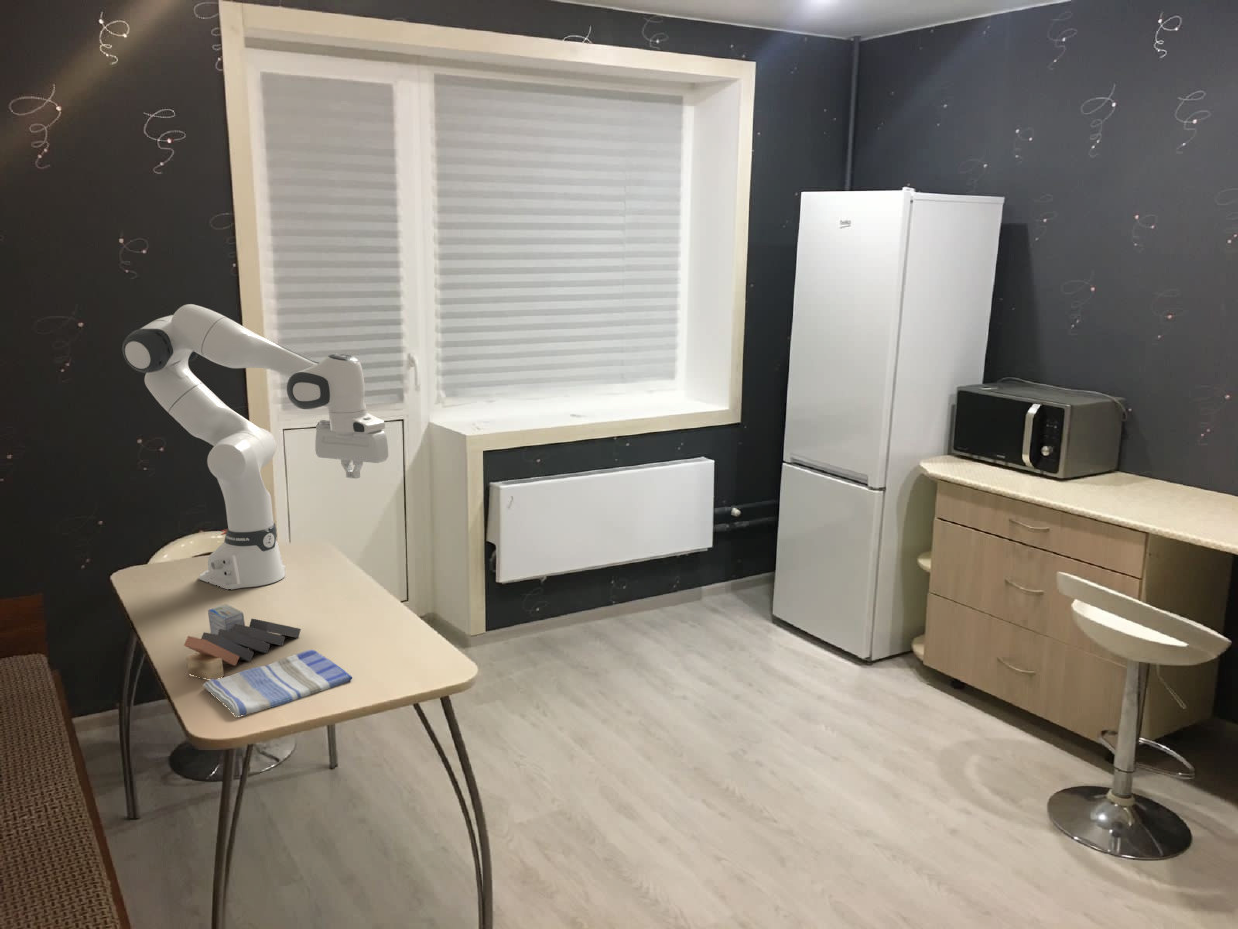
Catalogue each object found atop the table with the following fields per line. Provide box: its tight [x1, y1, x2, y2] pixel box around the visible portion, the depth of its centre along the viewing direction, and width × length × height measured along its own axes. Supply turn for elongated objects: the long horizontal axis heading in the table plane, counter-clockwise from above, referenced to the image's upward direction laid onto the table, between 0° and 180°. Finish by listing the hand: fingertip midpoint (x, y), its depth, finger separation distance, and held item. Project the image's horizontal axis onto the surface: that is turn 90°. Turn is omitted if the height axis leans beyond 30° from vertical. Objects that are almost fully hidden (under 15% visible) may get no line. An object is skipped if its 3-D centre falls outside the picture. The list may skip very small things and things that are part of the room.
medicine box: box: [207, 604, 246, 635], centre depth 207 cm, size 8×4×9 cm, turn 47°
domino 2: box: [200, 631, 255, 662], centre depth 198 cm, size 5×2×10 cm
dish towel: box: [202, 649, 353, 717], centre depth 189 cm, size 17×24×3 cm
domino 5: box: [248, 618, 302, 639], centre depth 209 cm, size 5×2×10 cm
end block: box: [186, 652, 225, 679], centre depth 193 cm, size 7×2×4 cm, turn 64°
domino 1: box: [183, 635, 240, 667], centre depth 195 cm, size 5×2×10 cm
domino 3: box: [218, 629, 271, 654], centre depth 202 cm, size 5×2×10 cm
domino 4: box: [233, 624, 286, 647], centre depth 205 cm, size 5×2×10 cm
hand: (353, 477), depth 235 cm, fingers closed
